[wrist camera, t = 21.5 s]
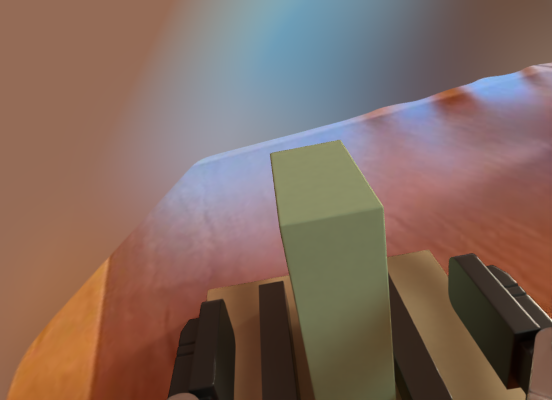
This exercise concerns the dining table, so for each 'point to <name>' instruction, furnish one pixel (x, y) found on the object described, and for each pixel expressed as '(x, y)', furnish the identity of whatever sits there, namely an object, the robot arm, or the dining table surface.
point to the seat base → (421, 310)
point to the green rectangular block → (336, 270)
